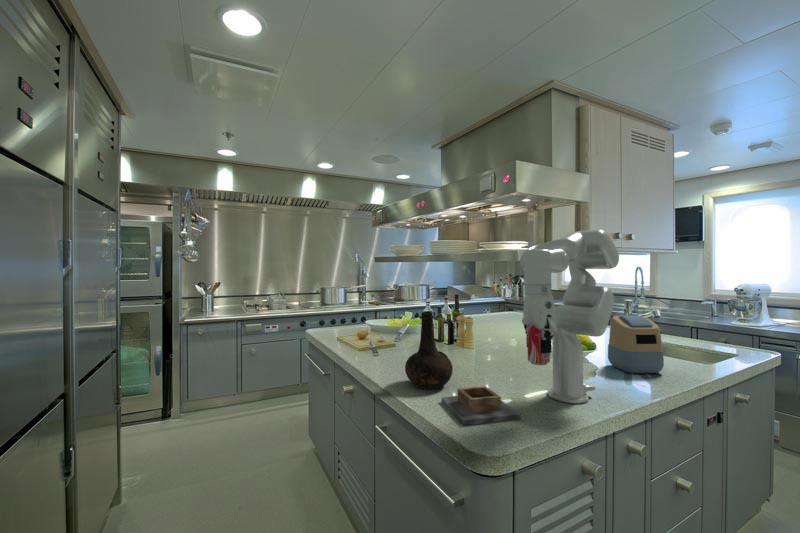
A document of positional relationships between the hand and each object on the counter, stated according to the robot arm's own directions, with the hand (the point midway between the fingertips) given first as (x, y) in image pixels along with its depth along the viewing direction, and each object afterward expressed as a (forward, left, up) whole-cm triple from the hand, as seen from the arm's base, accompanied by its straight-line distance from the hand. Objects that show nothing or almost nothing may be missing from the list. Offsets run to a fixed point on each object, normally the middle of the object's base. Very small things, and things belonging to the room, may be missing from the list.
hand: (538, 349), depth 105 cm
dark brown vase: (+23, -35, -20) cm, 47 cm away
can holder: (+15, -9, -20) cm, 27 cm away
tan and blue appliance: (-71, -33, -20) cm, 80 cm away
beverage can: (0, 0, -4) cm, 4 cm away
